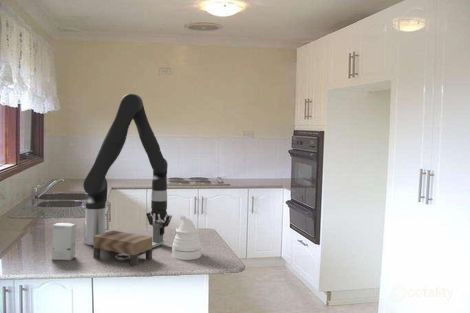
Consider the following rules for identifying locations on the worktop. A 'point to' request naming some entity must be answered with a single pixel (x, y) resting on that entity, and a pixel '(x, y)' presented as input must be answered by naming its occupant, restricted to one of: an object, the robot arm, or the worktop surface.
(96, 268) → the worktop surface
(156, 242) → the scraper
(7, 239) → the worktop surface
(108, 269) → the worktop surface
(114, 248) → the walnut table
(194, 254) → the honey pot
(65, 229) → the skincare box
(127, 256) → the disc
